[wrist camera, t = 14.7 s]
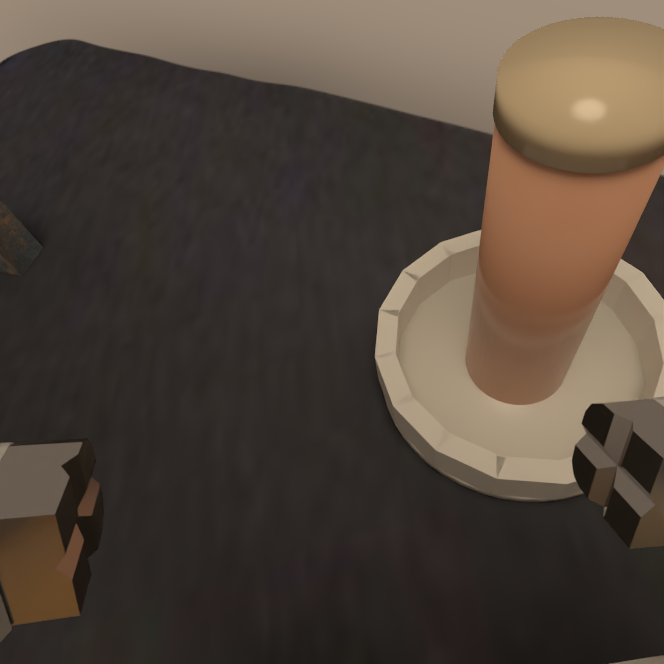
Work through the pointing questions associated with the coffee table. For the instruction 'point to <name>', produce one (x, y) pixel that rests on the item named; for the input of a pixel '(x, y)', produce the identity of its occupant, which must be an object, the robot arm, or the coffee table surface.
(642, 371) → the round tray
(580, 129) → the bead jar
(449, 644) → the coffee table surface
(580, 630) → the coffee table surface
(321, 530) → the coffee table surface
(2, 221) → the brown piece
